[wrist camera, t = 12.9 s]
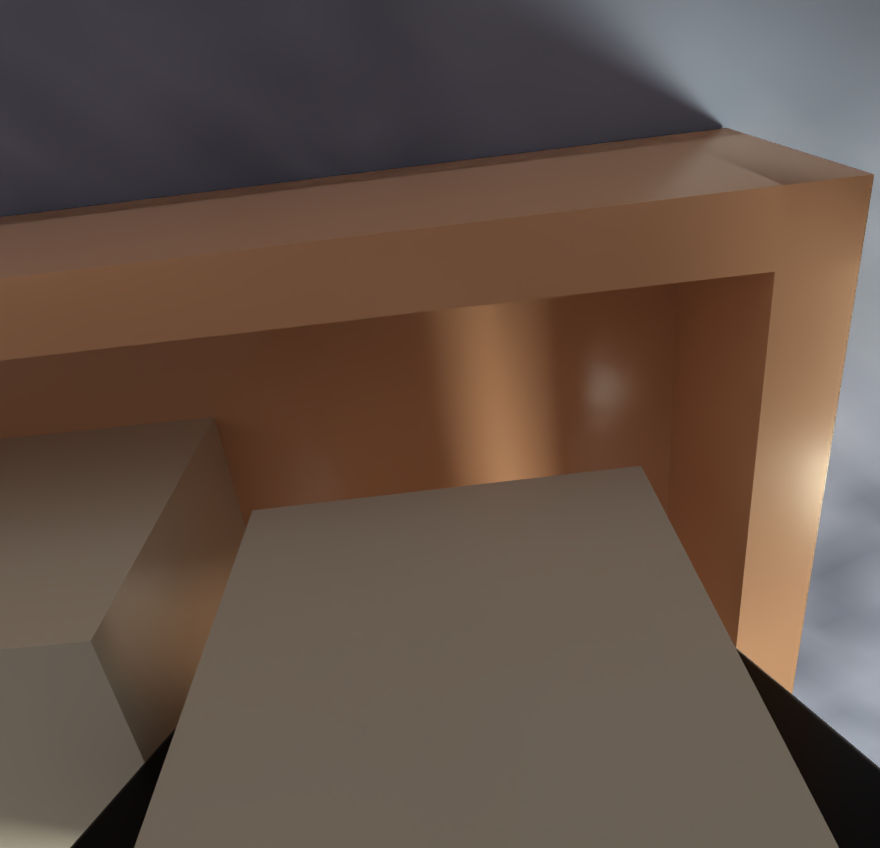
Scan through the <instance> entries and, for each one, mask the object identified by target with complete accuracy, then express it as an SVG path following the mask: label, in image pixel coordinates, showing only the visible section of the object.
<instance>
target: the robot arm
mask: <svg viewBox="0 0 880 848" xmlns="http://www.w3.org/2000/svg"><path fill="white" fill-rule="evenodd" d="M735 648H736V647H735ZM736 650H737V652H738V654H739V656H740V658H741V659H742V661H743V663H744V665H745V667H746V669H747V671H748V673H749V675H750V677H751V679H752V681H753V683H754V685H755V686H756V688H757V690H758V692H759V694H760V696H761V698H762V700H763V702H764V704H765V706H766V708H767V710H768V712H769V714H770V715H771V717H772V719H773V721H774V723H775V725H776V727H777V729H778V731H779V733H780V735H781V737H782V739H783V741H784V742H785V744H786V746H787V748H788V750H789V752H790V754H791V756H792V758H793V760H794V762H795V764H796V766H797V768H798V769H799V771H800V773H801V775H802V777H803V779H804V781H805V783H806V785H807V787H808V789H809V791H810V793H811V795H812V797H813V798H814V800H815V802H816V804H817V806H818V808H819V810H820V812H821V814H822V816H823V818H824V820H825V822H826V824H827V825H828V827H829V829H830V831H831V833H832V835H833V837H834V839H835V841H836V843H837V845H838V847H839V848H880V768H879V767H878V766H877V765H876V764H874V763H873V762H872V761H871V760H870V759H868V758H867V757H866V756H865V755H864V754H863V753H861V752H860V751H859V750H858V749H857V748H855V747H854V746H853V745H852V744H851V743H849V742H848V741H847V740H846V739H845V738H843V737H842V736H841V735H840V734H839V733H837V732H836V731H835V730H834V729H833V728H832V727H830V726H829V725H828V724H827V723H826V722H824V721H823V720H822V719H821V718H820V717H818V716H817V715H816V714H815V713H814V712H812V711H811V710H810V709H809V708H808V707H807V706H805V705H804V704H803V703H802V702H801V701H799V700H798V699H797V698H796V697H795V696H793V695H792V694H791V693H790V692H789V691H787V690H786V689H785V688H784V687H783V686H782V685H780V684H779V683H778V682H777V681H776V680H774V679H773V678H772V677H771V676H770V675H768V674H767V673H766V672H765V671H764V670H762V669H761V668H760V667H759V666H758V665H757V664H755V663H754V662H753V661H752V660H751V659H749V658H748V657H747V656H746V655H745V654H743V653H742V652H741V651H740V650H739V649H737V648H736ZM176 727H177V726H176ZM176 727H175V728H174V730H173V731H172V732H171V733H170V734H169V735H168V736H167V738H166V739H165V740H164V741H163V742H162V743H161V744H160V746H159V747H158V748H157V749H156V750H155V751H154V752H153V754H152V755H151V756H150V757H149V758H148V759H147V760H146V762H145V763H144V764H143V765H142V766H141V767H140V768H139V770H138V771H137V772H136V773H135V774H134V775H133V776H132V778H131V779H130V780H129V781H128V782H127V783H126V784H125V786H124V787H123V788H122V789H121V790H120V791H119V792H118V794H117V795H116V796H115V797H114V798H113V799H112V800H111V802H110V803H109V804H108V805H107V806H106V807H105V808H104V809H103V811H102V812H101V813H100V814H99V815H98V816H97V817H96V819H95V820H94V821H93V822H92V823H91V824H90V825H89V827H88V828H87V829H86V830H85V831H84V832H83V833H82V835H81V836H80V837H79V838H78V839H77V840H76V841H75V843H74V844H73V845H72V846H71V847H70V848H134V847H135V844H136V841H137V838H138V835H139V833H140V830H141V827H142V824H143V821H144V818H145V815H146V813H147V810H148V807H149V804H150V801H151V798H152V795H153V793H154V790H155V787H156V784H157V781H158V778H159V775H160V773H161V770H162V767H163V764H164V761H165V758H166V756H167V753H168V750H169V747H170V744H171V741H172V738H173V736H174V733H175V730H176Z"/></svg>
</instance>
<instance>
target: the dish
mask: <svg viewBox="0 0 880 848" xmlns="http://www.w3.org/2000/svg"><path fill="white" fill-rule="evenodd" d="M873 178H874V174H871V173H868V172H865V171H862V170H858V169H855V168H852V167H849V166H846V165H843V164H839V163H836V162H833V161H830V160H827V159H824V158H820V157H817V156H814V155H811V154H808V153H805V152H801V151H798V150H795V149H792V148H789V147H786V146H782V145H779V144H776V143H773V142H770V141H767V140H763V139H760V138H757V137H754V136H751V135H748V134H744V133H741V132H738V131H735V130H732V129H729V128H722V129H714V130H706V131H698V132H689V133H681V134H673V135H665V136H657V137H649V138H640V139H632V140H624V141H616V142H608V143H600V144H592V145H583V146H575V147H567V148H559V149H551V150H543V151H534V152H526V153H518V154H510V155H502V156H494V157H486V158H477V159H469V160H461V161H453V162H445V163H437V164H429V165H420V166H412V167H404V168H396V169H388V170H380V171H371V172H363V173H355V174H347V175H339V176H331V177H323V178H314V179H306V180H298V181H290V182H282V183H274V184H266V185H257V186H249V187H241V188H233V189H225V190H217V191H208V192H200V193H192V194H184V195H176V196H168V197H160V198H151V199H143V200H135V201H127V202H119V203H111V204H103V205H94V206H86V207H78V208H70V209H62V210H54V211H45V212H37V213H29V214H21V215H13V216H5V217H0V439H5V438H15V437H24V436H34V435H44V434H54V433H63V432H73V431H83V430H93V429H102V428H112V427H122V426H132V425H141V424H151V423H161V422H171V421H180V420H190V419H200V418H210V417H214V418H215V421H216V425H217V428H218V432H219V435H220V439H221V443H222V446H223V450H224V453H225V457H226V460H227V464H228V467H229V471H230V474H231V478H232V481H233V485H234V488H235V492H236V496H237V499H238V503H239V506H240V510H241V513H242V517H243V520H244V524H245V527H247V524H248V522H249V519H250V516H251V513H252V510H260V509H269V508H278V507H286V506H295V505H304V504H312V503H321V502H330V501H338V500H347V499H356V498H364V497H373V496H382V495H390V494H399V493H408V492H416V491H425V490H434V489H442V488H451V487H460V486H469V485H477V484H486V483H495V482H503V481H512V480H521V479H529V478H538V477H547V476H555V475H564V474H573V473H581V472H590V471H599V470H607V469H616V468H625V467H633V466H642V468H643V470H644V472H645V474H646V476H647V478H648V480H649V482H650V484H651V486H652V488H653V490H654V492H655V494H656V495H657V497H658V499H659V501H660V503H661V505H662V507H663V509H664V511H665V513H666V515H667V517H668V519H669V521H670V522H671V524H672V526H673V528H674V530H675V532H676V534H677V536H678V538H679V540H680V542H681V544H682V546H683V548H684V549H685V551H686V553H687V555H688V557H689V559H690V561H691V563H692V565H693V567H694V569H695V571H696V573H697V575H698V576H699V578H700V580H701V582H702V584H703V586H704V588H705V590H706V592H707V594H708V596H709V598H710V600H711V602H712V604H713V605H714V607H715V609H716V611H717V613H718V615H719V617H720V619H721V621H722V623H723V625H724V627H725V629H726V631H727V632H728V634H729V636H730V638H731V640H732V642H733V644H734V646H735V647H736V648H737V649H739V650H740V651H741V652H742V653H743V654H745V655H746V656H747V657H748V658H749V659H751V660H752V661H753V662H754V663H755V664H757V665H758V666H759V667H760V668H761V669H762V670H764V671H765V672H766V673H767V674H768V675H770V676H771V677H772V678H773V679H774V680H776V681H777V682H778V683H779V684H780V685H782V686H783V687H784V688H785V689H786V690H787V691H789V692H790V693H791V694H792V691H793V685H794V678H795V672H796V666H797V659H798V653H799V647H800V640H801V634H802V628H803V621H804V615H805V609H806V602H807V596H808V590H809V583H810V577H811V571H812V564H813V558H814V552H815V545H816V539H817V533H818V526H819V520H820V514H821V507H822V501H823V495H824V488H825V482H826V476H827V469H828V463H829V457H830V450H831V444H832V438H833V431H834V425H835V419H836V413H837V406H838V400H839V394H840V387H841V381H842V375H843V368H844V362H845V356H846V349H847V343H848V337H849V330H850V324H851V318H852V311H853V305H854V299H855V292H856V286H857V280H858V273H859V267H860V261H861V254H862V248H863V242H864V235H865V229H866V223H867V216H868V210H869V204H870V197H871V191H872V185H873Z"/></svg>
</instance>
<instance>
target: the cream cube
mask: <svg viewBox="0 0 880 848" xmlns="http://www.w3.org/2000/svg"><path fill="white" fill-rule="evenodd" d="M245 530H246V527H245V524H244V520H243V517H242V513H241V510H240V506H239V503H238V499H237V496H236V492H235V488H234V485H233V481H232V478H231V474H230V471H229V467H228V464H227V460H226V457H225V453H224V450H223V446H222V443H221V439H220V435H219V432H218V428H217V425H216V421H215V418H214V417H210V418H200V419H190V420H180V421H171V422H161V423H151V424H141V425H132V426H122V427H112V428H102V429H93V430H83V431H73V432H63V433H54V434H44V435H34V436H24V437H15V438H5V439H0V848H70V847H71V846H72V845H73V844H74V843H75V841H76V840H77V839H78V838H79V837H80V836H81V835H82V833H83V832H84V831H85V830H86V829H87V828H88V827H89V825H90V824H91V823H92V822H93V821H94V820H95V819H96V817H97V816H98V815H99V814H100V813H101V812H102V811H103V809H104V808H105V807H106V806H107V805H108V804H109V803H110V802H111V800H112V799H113V798H114V797H115V796H116V795H117V794H118V792H119V791H120V790H121V789H122V788H123V787H124V786H125V784H126V783H127V782H128V781H129V780H130V779H131V778H132V776H133V775H134V774H135V773H136V772H137V771H138V770H139V768H140V767H141V766H142V765H143V764H144V763H145V762H146V760H147V759H148V758H149V757H150V756H151V755H152V754H153V752H154V751H155V750H156V749H157V748H158V747H159V746H160V744H161V743H162V742H163V741H164V740H165V739H166V738H167V736H168V735H169V734H170V733H171V732H172V731H173V730H174V728H175V727H176V726H177V724H178V721H179V718H180V716H181V713H182V710H183V707H184V704H185V701H186V698H187V696H188V693H189V690H190V687H191V684H192V681H193V678H194V676H195V673H196V670H197V667H198V664H199V661H200V659H201V656H202V653H203V650H204V647H205V644H206V641H207V639H208V636H209V633H210V630H211V627H212V624H213V621H214V619H215V616H216V613H217V610H218V607H219V604H220V601H221V599H222V596H223V593H224V590H225V587H226V584H227V581H228V579H229V576H230V573H231V570H232V567H233V564H234V562H235V559H236V556H237V553H238V550H239V547H240V544H241V542H242V539H243V536H244V533H245Z"/></svg>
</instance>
